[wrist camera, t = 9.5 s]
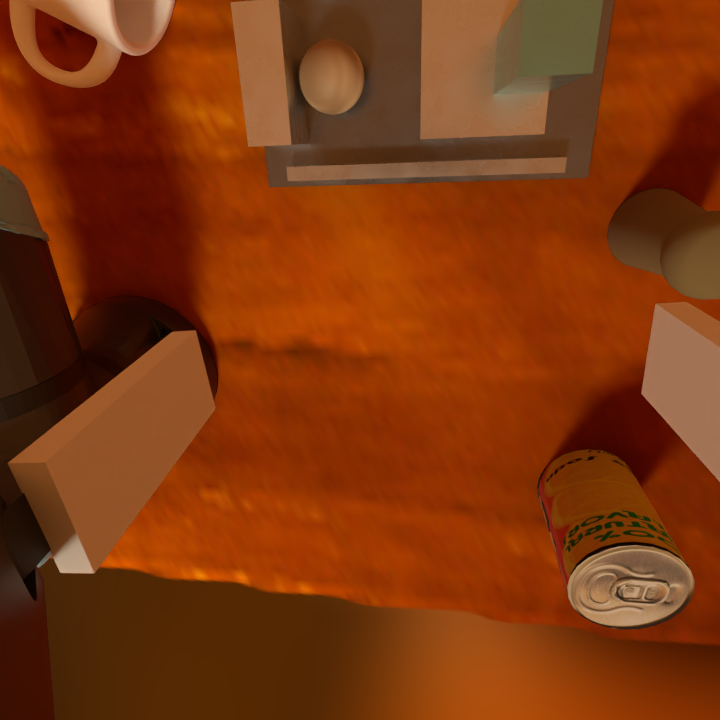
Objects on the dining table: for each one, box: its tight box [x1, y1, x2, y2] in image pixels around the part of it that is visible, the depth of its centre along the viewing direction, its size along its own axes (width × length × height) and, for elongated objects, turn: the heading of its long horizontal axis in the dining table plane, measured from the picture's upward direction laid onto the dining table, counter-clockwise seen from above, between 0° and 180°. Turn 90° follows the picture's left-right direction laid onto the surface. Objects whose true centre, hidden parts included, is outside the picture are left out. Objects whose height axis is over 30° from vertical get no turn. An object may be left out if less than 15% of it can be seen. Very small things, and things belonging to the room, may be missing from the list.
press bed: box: [231, 0, 614, 187], centre depth 32 cm, size 24×14×6 cm, turn 92°
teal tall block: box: [420, 0, 603, 139], centre depth 27 cm, size 8×8×13 cm
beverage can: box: [537, 449, 694, 629], centre depth 42 cm, size 9×9×12 cm
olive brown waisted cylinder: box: [607, 188, 720, 299], centre depth 32 cm, size 6×6×11 cm
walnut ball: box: [299, 39, 364, 115], centre depth 32 cm, size 4×4×4 cm
